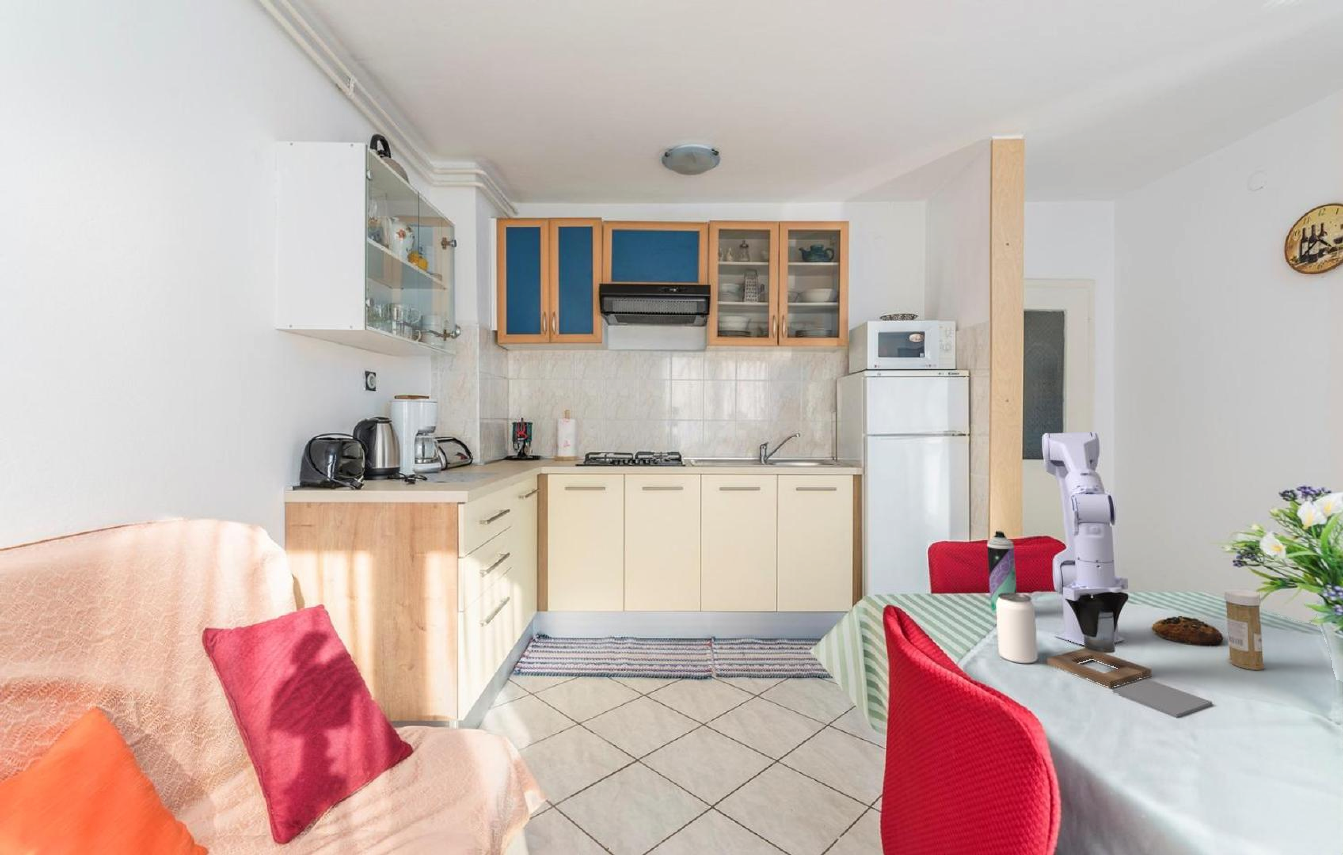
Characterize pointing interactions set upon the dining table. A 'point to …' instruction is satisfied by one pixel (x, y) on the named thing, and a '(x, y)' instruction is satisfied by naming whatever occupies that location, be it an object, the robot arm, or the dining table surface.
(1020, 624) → the can
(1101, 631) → the grey metal cylinder
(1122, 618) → the dining table surface
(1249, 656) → the sprinkles bottle
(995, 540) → the spray can
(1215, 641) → the bread roll
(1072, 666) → the collar
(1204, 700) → the coaster
